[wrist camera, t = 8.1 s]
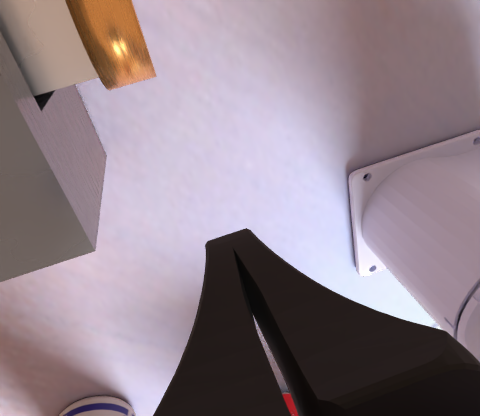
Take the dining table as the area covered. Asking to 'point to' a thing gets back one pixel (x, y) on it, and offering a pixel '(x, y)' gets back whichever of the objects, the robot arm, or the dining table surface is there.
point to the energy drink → (99, 407)
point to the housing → (45, 174)
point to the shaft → (75, 42)
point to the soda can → (290, 403)
